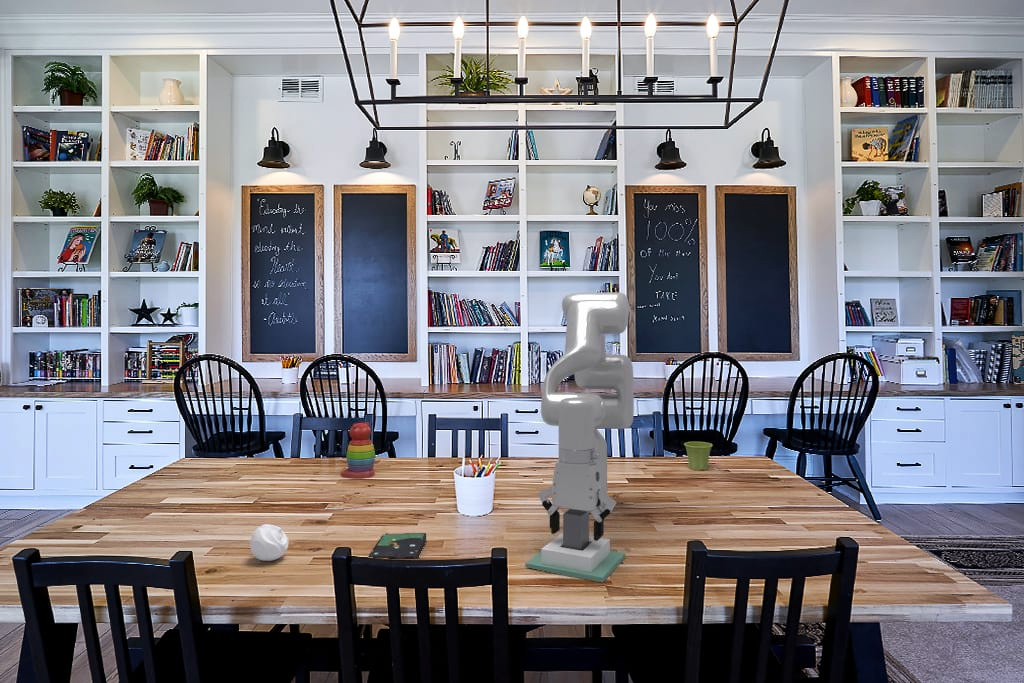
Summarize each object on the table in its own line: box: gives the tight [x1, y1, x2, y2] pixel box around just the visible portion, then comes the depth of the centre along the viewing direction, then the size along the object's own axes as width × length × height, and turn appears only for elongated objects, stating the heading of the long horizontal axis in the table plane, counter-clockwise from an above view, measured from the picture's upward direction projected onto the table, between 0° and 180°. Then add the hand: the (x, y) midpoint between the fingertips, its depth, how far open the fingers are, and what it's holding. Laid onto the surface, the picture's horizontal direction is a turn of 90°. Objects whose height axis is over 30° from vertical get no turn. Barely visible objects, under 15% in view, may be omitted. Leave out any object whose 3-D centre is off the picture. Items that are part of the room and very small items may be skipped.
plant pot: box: [683, 441, 713, 472], centre depth 224 cm, size 9×9×9 cm
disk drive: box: [368, 532, 427, 560], centre depth 144 cm, size 10×3×15 cm
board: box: [524, 532, 626, 584], centre depth 138 cm, size 15×17×4 cm
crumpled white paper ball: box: [249, 523, 290, 562], centre depth 140 cm, size 8×8×8 cm
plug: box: [562, 509, 590, 551], centre depth 138 cm, size 6×4×10 cm, turn 153°
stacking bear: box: [340, 422, 376, 480], centre depth 216 cm, size 11×10×18 cm
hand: (576, 535), depth 137 cm, fingers open, 9 cm apart
